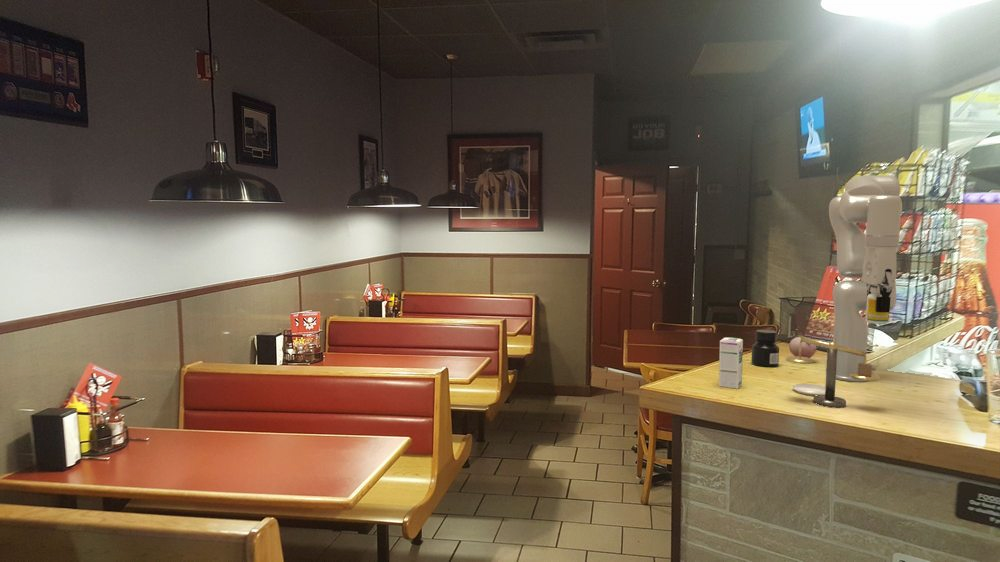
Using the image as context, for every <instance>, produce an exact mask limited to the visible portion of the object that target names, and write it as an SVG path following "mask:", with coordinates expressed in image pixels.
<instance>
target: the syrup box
mask: <svg viewBox="0 0 1000 562" xmlns="http://www.w3.org/2000/svg"><path fill="white" fill-rule="evenodd" d="M743 345H744V340H743V339H742V338H738V337H723V338H722V339H721V340H719V356H718V357H719V363H718V364H719V365H718V366H719V368H718V386H719V387H721V388H729V389H737V390H738V389H739V388H740V387H741V386H742V383H743V357H744V355H743V353H744V352H743V350H744V349H743V347H744V346H743Z"/></svg>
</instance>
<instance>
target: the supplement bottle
mask: <svg viewBox="0 0 1000 562" xmlns="http://www.w3.org/2000/svg"><path fill="white" fill-rule="evenodd" d="M882 290H883V288H882ZM870 292H871V294H869V295H868V296H867V303H866V311H865V318H864V319H865V320H866V322H867V323H869V324H874V325H875V324H876V325H877V324H878V325H887V324H888V323H889V322H890V311H889V312H876V311H875V309H876V297H878V288H877V286H871V288H870Z"/></svg>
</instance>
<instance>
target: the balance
mask: <svg viewBox="0 0 1000 562" xmlns="http://www.w3.org/2000/svg"><path fill="white" fill-rule="evenodd" d="M802 342H805V343H809V344H813V345H816V347H817V346H818V347H821V348H827V349H826V350H827V351H826V352H827V353H826V368H825V385H824V386H825V395H818V396H812V397H813V400H812V401H813V404H815V403H817V404H819V405H818V406H820V405H823V406H822V407H825V406H828V407H827V408H832V407H836V408H837V409H838V408H839V409H840V408H841V407H842V408H845V406H847V400H846V399H844V398H841V397H838V396H836V384H837V383H836V381H837V379H836V366H837V350H838V351H842V352H847V353H851V354H855V355H859V356H863V357H864V363H858V372H852V373H850V374H849V376H850V377H852V378H855V379H859V380H867V381H866V382H872V381H873V382H874V381H880V378H881V377H880V376H879V375H878V374H874V373H872V372H873V371H872V365H873V364H871V363H867V360H868V359H867V358H868V357H867V352H865V351H860V350H856V349H852V348H848V347H844V346H839V345H837V343H835V342H833V341H830V342H826V341H822V340H817V339H815V338H814V339H813V338H809V337H806V336H804V337H801V341H800V346H799V356H794V355H790V356H786V358H785V361H786V362H789V363H793V364H802V365H805V364H807V365H809V364H814V363H815V360H814V359H813V358H812V357H811V358H807V357H801V345H802ZM865 356H866V357H865ZM817 404H816V405H817ZM836 408H835V409H836Z"/></svg>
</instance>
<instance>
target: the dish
mask: <svg viewBox="0 0 1000 562" xmlns="http://www.w3.org/2000/svg"><path fill="white" fill-rule="evenodd" d="M825 386H826V385H824V386H823V385H820V384H812V383H798V384H797V383H796V384H793V385H792V386H791V387H792V390H794V391H796V392H797V393H799V394H803V395H806V394H807V396H812V395H817V396H818V395H825Z"/></svg>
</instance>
